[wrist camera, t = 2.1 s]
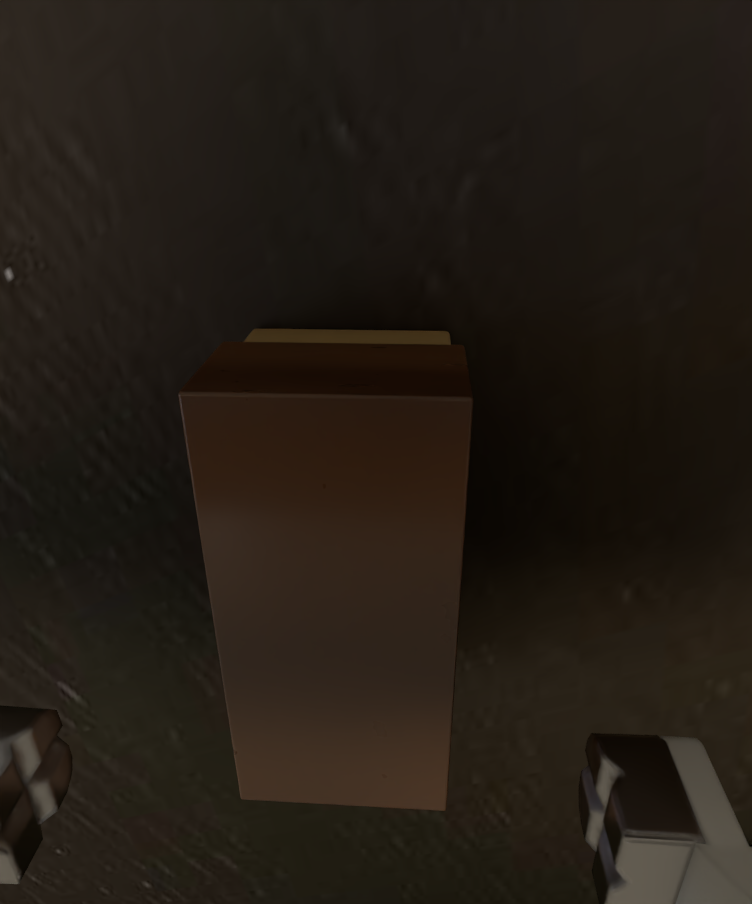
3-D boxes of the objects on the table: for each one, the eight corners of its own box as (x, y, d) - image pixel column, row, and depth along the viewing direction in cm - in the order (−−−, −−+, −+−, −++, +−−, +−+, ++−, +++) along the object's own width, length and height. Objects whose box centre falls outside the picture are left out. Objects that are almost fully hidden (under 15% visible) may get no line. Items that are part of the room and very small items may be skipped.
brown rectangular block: (242, 317, 13) (176, 392, 10) (460, 319, 13) (474, 397, 10) (277, 661, 18) (239, 800, 14) (441, 669, 17) (446, 812, 14)
